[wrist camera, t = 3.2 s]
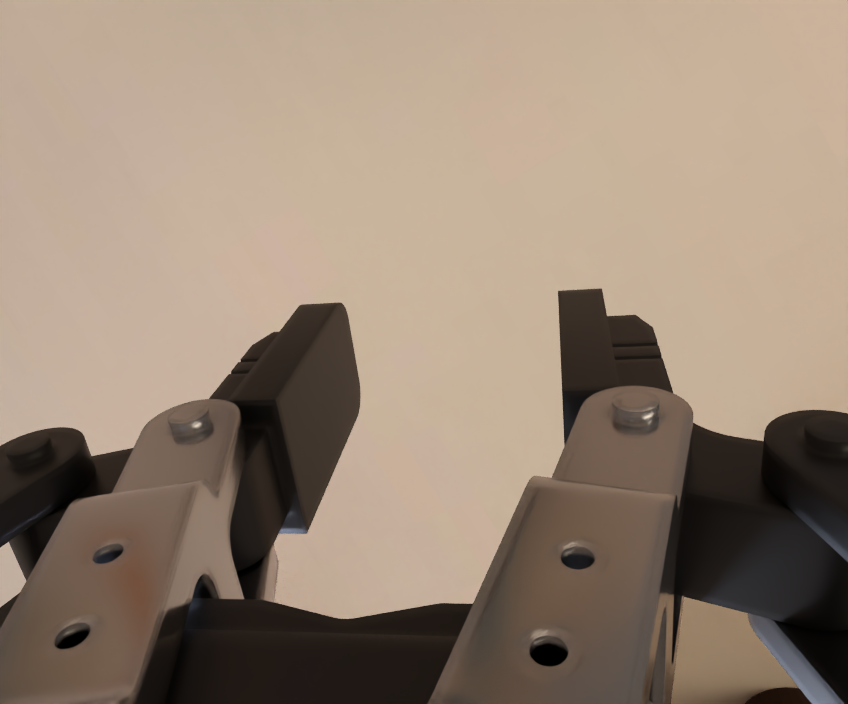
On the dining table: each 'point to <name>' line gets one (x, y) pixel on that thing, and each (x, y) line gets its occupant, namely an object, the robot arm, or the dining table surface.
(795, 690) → the coffee mug
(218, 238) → the dining table surface
